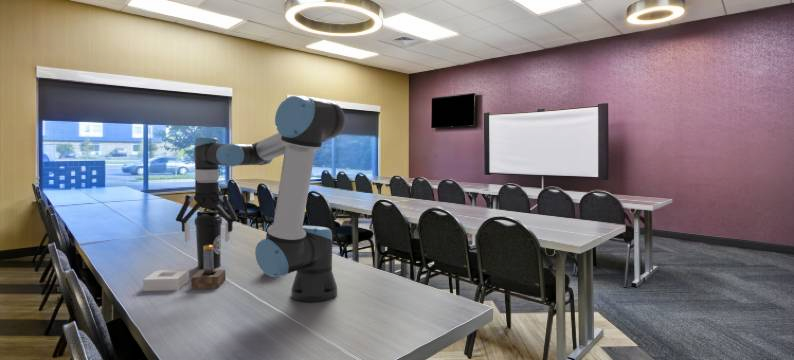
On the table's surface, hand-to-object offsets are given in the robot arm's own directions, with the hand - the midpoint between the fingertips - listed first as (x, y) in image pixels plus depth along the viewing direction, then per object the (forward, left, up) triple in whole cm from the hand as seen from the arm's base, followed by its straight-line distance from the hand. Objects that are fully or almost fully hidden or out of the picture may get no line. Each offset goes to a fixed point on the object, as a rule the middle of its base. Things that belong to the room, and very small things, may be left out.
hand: (207, 240), depth 149 cm
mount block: (0, 0, -16) cm, 16 cm away
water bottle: (+7, -24, -16) cm, 29 cm away
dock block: (+14, 0, -16) cm, 21 cm away
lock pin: (0, 0, -16) cm, 16 cm away
